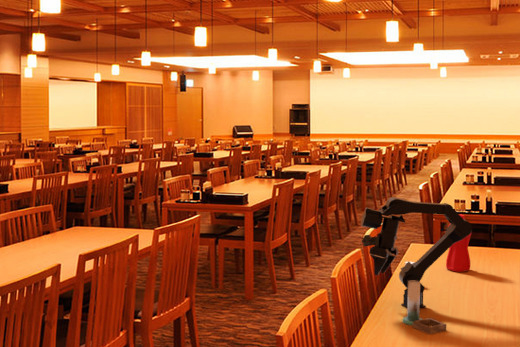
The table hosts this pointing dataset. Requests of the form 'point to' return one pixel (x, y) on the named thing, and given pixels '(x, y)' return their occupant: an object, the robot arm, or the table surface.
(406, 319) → the shiny teal dome
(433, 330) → the open brown square box
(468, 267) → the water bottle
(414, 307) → the peg
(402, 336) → the table surface
